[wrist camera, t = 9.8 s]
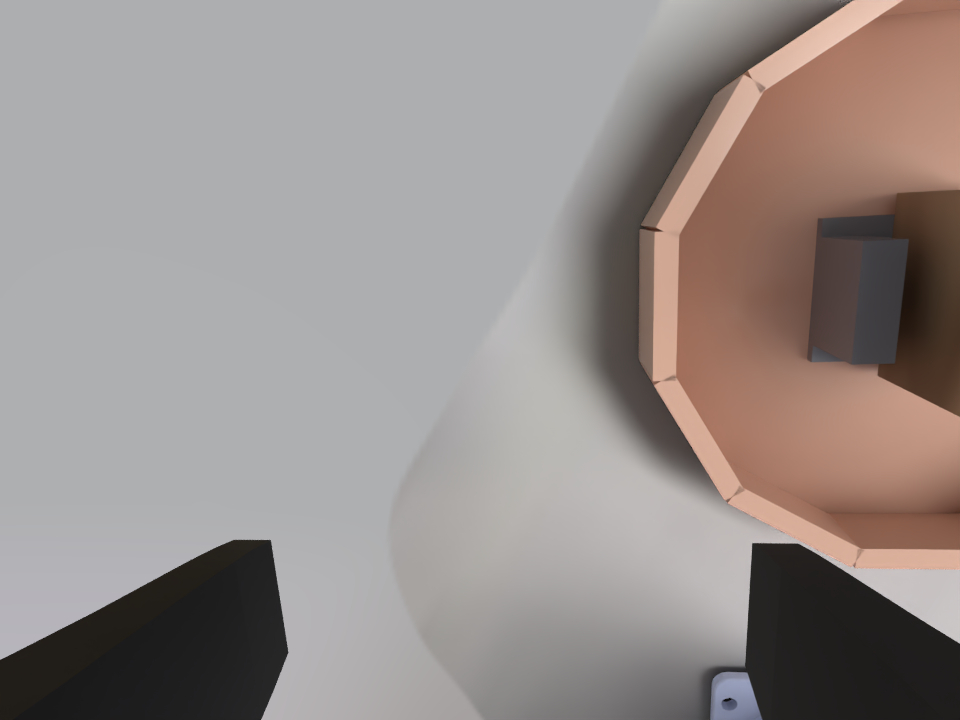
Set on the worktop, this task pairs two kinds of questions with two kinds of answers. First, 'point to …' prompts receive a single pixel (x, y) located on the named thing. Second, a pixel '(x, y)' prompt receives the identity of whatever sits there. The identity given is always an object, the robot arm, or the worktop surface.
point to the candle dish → (812, 286)
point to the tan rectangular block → (929, 298)
